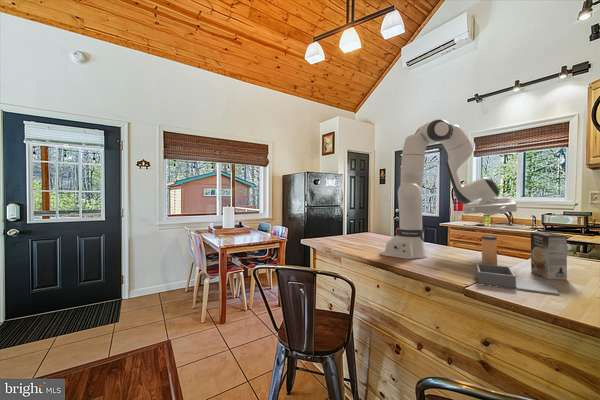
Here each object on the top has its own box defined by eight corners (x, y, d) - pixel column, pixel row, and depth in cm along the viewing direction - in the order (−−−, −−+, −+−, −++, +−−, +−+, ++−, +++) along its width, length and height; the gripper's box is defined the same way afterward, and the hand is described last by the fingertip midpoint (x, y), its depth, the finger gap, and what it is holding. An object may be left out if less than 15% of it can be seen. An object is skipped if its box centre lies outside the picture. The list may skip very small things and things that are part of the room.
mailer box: (478, 284, 87) (478, 272, 87) (476, 274, 97) (476, 263, 97) (559, 295, 76) (559, 281, 76) (547, 283, 86) (547, 270, 86)
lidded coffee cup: (482, 270, 102) (481, 237, 102) (481, 267, 107) (480, 235, 107) (498, 272, 100) (497, 238, 99) (496, 269, 104) (496, 236, 104)
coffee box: (530, 271, 99) (529, 232, 99) (548, 272, 98) (548, 232, 98) (547, 279, 90) (547, 235, 90) (568, 279, 89) (568, 235, 89)
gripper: (463, 201, 128) (459, 206, 118) (515, 197, 115) (516, 202, 105) (465, 213, 129) (461, 218, 118) (517, 210, 115) (517, 216, 105)
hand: (487, 211), depth 111 cm, fingers open, 8 cm apart
